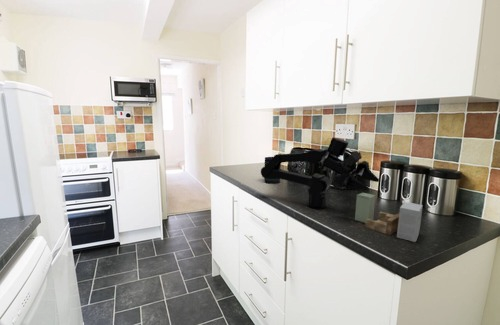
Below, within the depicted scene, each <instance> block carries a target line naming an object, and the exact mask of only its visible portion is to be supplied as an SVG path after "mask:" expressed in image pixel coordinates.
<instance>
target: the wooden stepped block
mask: <svg viewBox="0 0 500 325" xmlns="http://www.w3.org/2000/svg"><path fill="white" fill-rule="evenodd" d="M398 222H399V212H398V213H396V214H392V213H388V212H384V211H380V212H379V213H378V219H377V220H374V219H373V220H372V219H369V218H368V219H366V223H365V228H366V229H370V230H372V231H376V232H379V233H382V234H385V235H389V236H391V235H393V234H394V233H395V232H397V230H398Z"/></svg>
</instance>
